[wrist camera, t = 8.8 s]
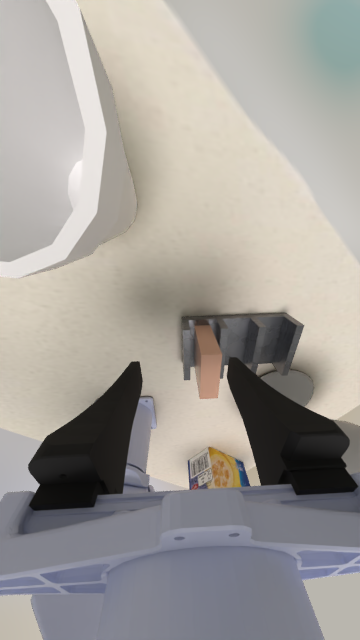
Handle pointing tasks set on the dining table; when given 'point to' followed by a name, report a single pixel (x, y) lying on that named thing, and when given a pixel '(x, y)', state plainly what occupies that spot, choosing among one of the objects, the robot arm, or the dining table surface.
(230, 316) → the dish rack
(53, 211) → the foam cup
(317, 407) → the dining table surface
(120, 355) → the dining table surface
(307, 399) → the chalice
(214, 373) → the tan wooden block
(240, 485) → the beverage box
